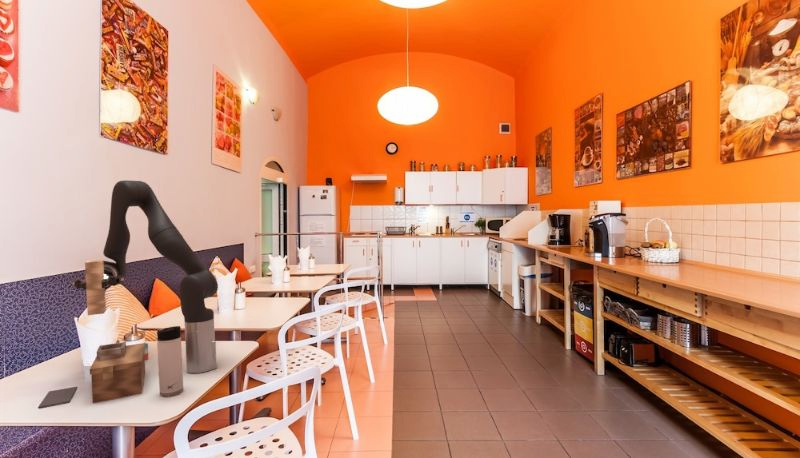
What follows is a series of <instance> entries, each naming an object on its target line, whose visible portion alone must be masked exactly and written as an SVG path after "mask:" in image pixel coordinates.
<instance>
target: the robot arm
mask: <svg viewBox="0 0 800 458" xmlns="http://www.w3.org/2000/svg"><path fill="white" fill-rule="evenodd" d="M110 202H111V204H110V211H109V213H110V215H109V228H108V233H107V237H106V240H105V244H104V248H103V251H102V252H103V256H104V257H105V258H107V259H110V260H112V261H108V260H103V264H104V280H102V281H101V283H102V288H105V291H106V290H108V289H109V288H111V287H115V286H119V285H121V284H124V283H125V278H126V276H127V262H126V260H127V259H126V257H127V252H128V250H129V247H130V246H129V245H130V242H131V233H130V229H129V226H128V223H127V219H126V218H127V213H128V210H129V208H130V207H138V208H139V209H140V210H142V212H143V213H144V215H145V216H146V218H147V222H148V225H147V236H148V239H149V241H150V242H151V244H152V245H153V247H154V248H155V249H156V251H157V252H158V254H160V255H161V256H162V257H164V259H167V260H168V261H170V262H171V263H173V264H174V265H176V266H177V267H179V268H180V269H181V270H183V271H184V273H185V274H186V275H185V276H184V277H183V278H182V279H181V280H180V283H179V301H180V309H181V313H182V315H183V319H184V320H183V321H184V337H185V338H184V339H185V359H186V360H185V361H186V364H185V365H186V372H187V373H189V374H200V373H205V372H209V371H212V370H215V369H217V367H218V366H217V365H218V363H217V347H216V345H217V343H216V336H215V334H216V333H215V332H216V331H215V315H214V314H215V313H214V312H215V311H214V310H213V309H212V308H208V307H206V304H205V299H209V298H211V297H213V296H215V295H216V294H217V292H218V289H219V284H218V281H217V278H216V277H215V275H214V273H212V272H211V270H210V269H209V268H208V267H207V266H206V265H205V264H204V262H202V261H201V259H200V258H199V257H198V256H197V254H196V253H195V252H194V250H193V249H192V247H191V246H190V245H189V244H188V243H187V241H186V240H185V238H184V235H183V234H181V232H180V231H179V229H178V228H177V226H175V224H174V223H173V221H172V219H170V217H169V215H168V214H167V213H166V211H165V210H164V208H163V207H162V205H161V202H160V200H158V198H157V196H156V194H155V191H154V190H153V189H152V187H151V186H150V184H148V183H147V182H145V181H142V180H127V179H126V180H120V181H117V182H116V183H115V185H114V186H113V189H112V192H111V200H110ZM113 261H114V262H113ZM72 288H74V289H78V290H79V289H82V290H86V277H84V278H83V279H81V278H75V277H74V278H72Z"/></svg>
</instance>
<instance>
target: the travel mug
mask: <svg viewBox="0 0 800 458" xmlns="http://www.w3.org/2000/svg"><path fill="white" fill-rule="evenodd" d="M181 330H182V329H181V326H179V325H177V326H175V325H174V326H169V327H165V328H163V329H162V330H161V329H160V330H157V331H156V336H157V343H156V344H157V363H158V382H159V383H158V384H159V396H161V397H164V398H165V397H169V398H170V397H174V396H176V395H179V394H181V393H182V392H183V391H184V379H183V378H184V374H183V372H184V371H183V353H182V351H183V350H182V335H181Z"/></svg>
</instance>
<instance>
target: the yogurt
mask: <svg viewBox="0 0 800 458" xmlns="http://www.w3.org/2000/svg"><path fill="white" fill-rule="evenodd" d="M144 343H145V351H144V353H145V360H146V361H147V360H149V343H148V342H144Z"/></svg>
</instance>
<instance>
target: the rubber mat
mask: <svg viewBox="0 0 800 458" xmlns="http://www.w3.org/2000/svg"><path fill="white" fill-rule="evenodd" d="M78 388H79V387H78V386H73V387H72V386H71V387H66V388H65V387H64V388H60V389H55V390H49V391H48V392H47V393H46V395H45V396H44V397H43V399H42V401H41V402H40V404H39V405H38V407H37V409H38V408H39V409H45V408H50V407H54V406H60V405H65V404H70V403H71V402H72V399H73V397H74V396H75V394H76V391H77V390H78Z"/></svg>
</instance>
